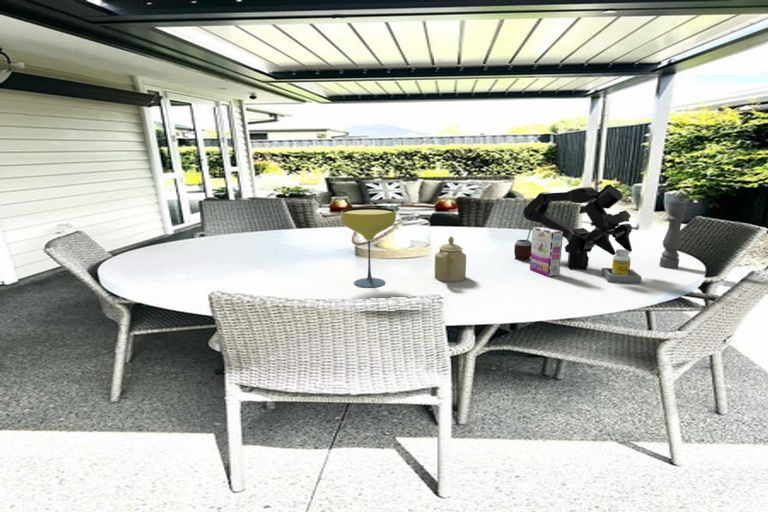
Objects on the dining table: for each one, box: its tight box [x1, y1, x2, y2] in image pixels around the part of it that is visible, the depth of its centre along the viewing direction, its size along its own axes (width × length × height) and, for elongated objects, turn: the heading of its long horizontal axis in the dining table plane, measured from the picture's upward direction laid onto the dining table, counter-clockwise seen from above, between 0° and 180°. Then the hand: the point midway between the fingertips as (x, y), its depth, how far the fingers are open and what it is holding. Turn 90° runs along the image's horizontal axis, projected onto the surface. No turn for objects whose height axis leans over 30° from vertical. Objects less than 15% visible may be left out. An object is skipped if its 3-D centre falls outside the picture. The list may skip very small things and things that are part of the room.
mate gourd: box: [513, 222, 536, 262], centre depth 182 cm, size 8×8×15 cm
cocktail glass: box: [340, 206, 397, 289], centre depth 149 cm, size 18×18×25 cm
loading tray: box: [600, 267, 642, 285], centre depth 155 cm, size 10×10×2 cm
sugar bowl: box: [434, 235, 467, 283], centre depth 154 cm, size 15×11×15 cm
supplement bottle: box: [611, 248, 632, 275], centre depth 154 cm, size 5×5×10 cm
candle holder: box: [659, 200, 688, 270], centre depth 168 cm, size 6×6×25 cm
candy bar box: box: [529, 226, 564, 278], centre depth 161 cm, size 11×5×16 cm, turn 19°
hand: (622, 253), depth 153 cm, fingers open, 9 cm apart
